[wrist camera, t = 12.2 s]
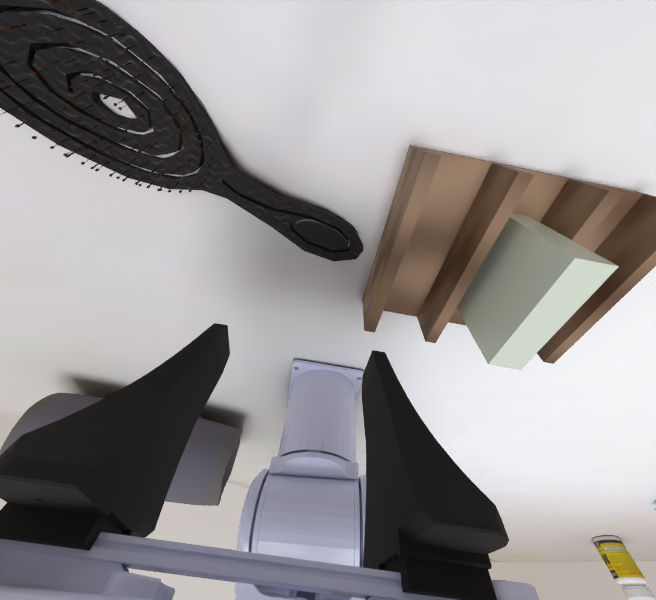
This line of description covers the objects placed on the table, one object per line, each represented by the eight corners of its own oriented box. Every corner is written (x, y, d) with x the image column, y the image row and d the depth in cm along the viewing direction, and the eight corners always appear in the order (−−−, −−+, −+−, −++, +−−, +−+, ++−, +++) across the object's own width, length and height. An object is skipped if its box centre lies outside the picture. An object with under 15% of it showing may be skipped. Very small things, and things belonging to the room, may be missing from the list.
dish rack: (525, 329, 23) (553, 363, 20) (362, 300, 23) (364, 330, 20) (640, 192, 16) (712, 211, 13) (409, 145, 16) (425, 152, 13)
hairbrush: (331, 305, 20) (-85, 100, 13) (332, 280, 23) (-8, 102, 16) (401, 217, 16) (-165, -163, 9) (390, 201, 19) (-38, -95, 12)
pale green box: (474, 300, 21) (520, 369, 15) (450, 296, 21) (488, 364, 15) (527, 215, 17) (618, 266, 11) (498, 209, 17) (575, 258, 11)
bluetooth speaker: (247, 407, 34) (216, 496, 26) (242, 439, 40) (214, 521, 32) (68, 368, 32) (-28, 452, 24) (87, 407, 37) (15, 487, 29)
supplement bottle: (590, 536, 54) (624, 597, 47) (618, 534, 52) (658, 597, 45) (593, 542, 56) (626, 601, 49) (620, 540, 54) (659, 601, 47)
